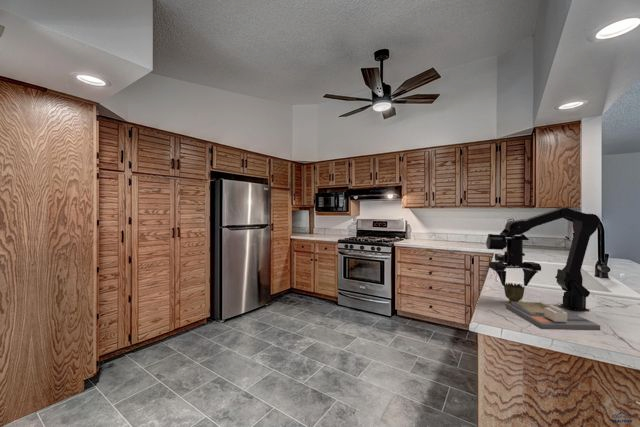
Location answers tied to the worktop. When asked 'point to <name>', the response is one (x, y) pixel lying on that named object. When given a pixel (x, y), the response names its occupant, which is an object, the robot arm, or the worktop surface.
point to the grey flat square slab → (544, 322)
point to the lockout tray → (531, 307)
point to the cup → (514, 292)
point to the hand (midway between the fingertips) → (514, 285)
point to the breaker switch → (555, 314)
